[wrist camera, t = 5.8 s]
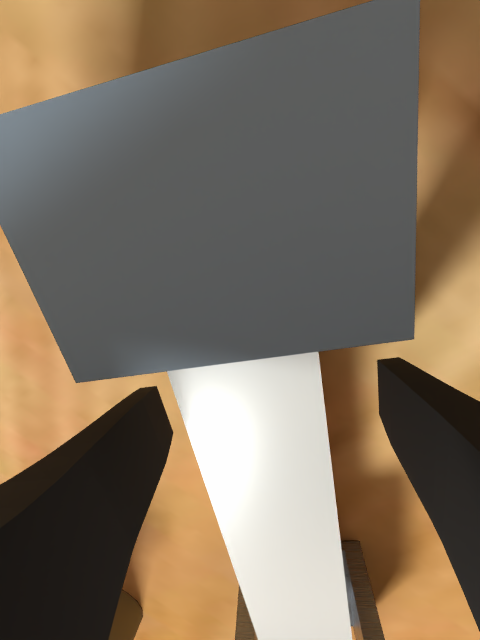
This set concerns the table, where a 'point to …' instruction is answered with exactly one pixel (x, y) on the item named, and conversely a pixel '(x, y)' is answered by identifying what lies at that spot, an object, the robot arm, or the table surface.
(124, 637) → the olive game pawn
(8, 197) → the socket
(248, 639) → the metal block
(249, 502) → the long white plank
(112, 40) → the table surface
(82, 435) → the robot arm
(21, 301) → the table surface
